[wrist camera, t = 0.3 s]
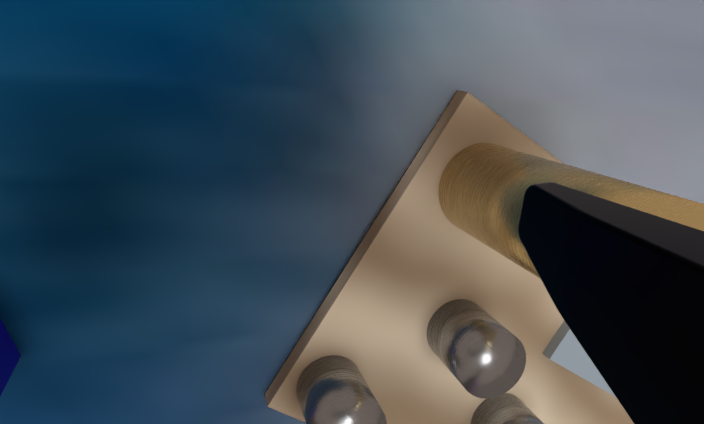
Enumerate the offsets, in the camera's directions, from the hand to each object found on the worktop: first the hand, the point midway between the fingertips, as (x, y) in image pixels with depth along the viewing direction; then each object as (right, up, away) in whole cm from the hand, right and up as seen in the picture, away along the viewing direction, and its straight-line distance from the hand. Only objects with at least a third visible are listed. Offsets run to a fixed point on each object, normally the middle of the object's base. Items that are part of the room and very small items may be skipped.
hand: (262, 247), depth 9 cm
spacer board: (+10, -6, +21) cm, 24 cm away
